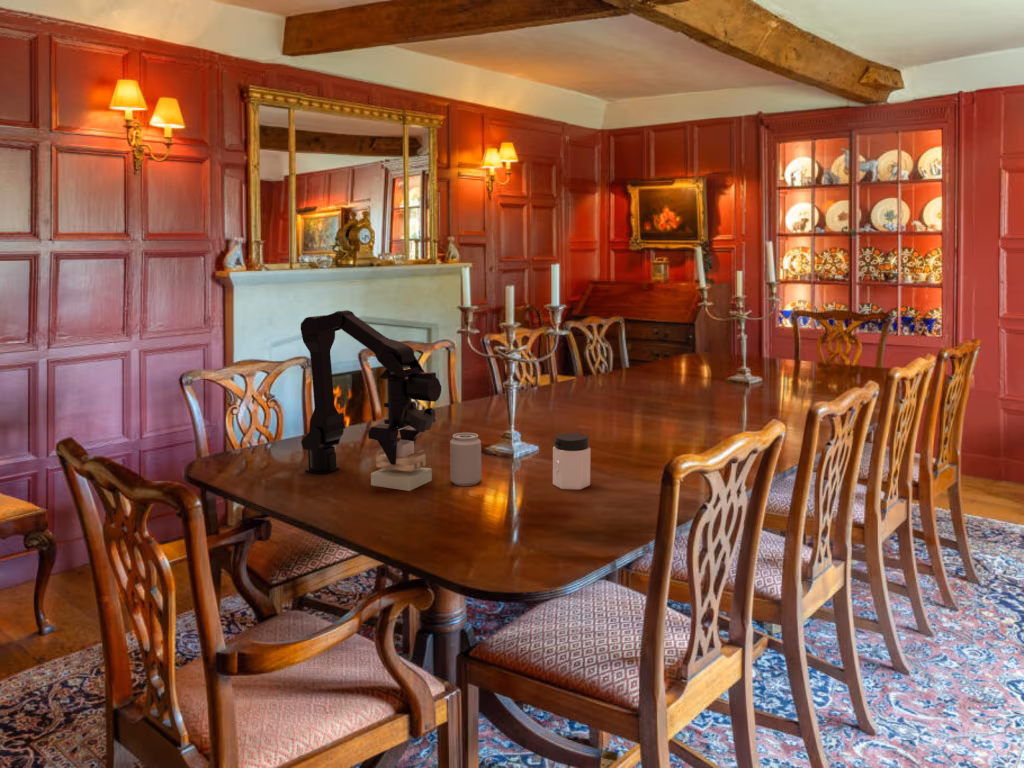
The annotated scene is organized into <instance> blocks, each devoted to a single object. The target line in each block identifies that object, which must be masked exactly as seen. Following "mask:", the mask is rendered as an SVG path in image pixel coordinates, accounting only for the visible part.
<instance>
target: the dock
mask: <svg viewBox="0 0 1024 768" xmlns="http://www.w3.org/2000/svg"><path fill="white" fill-rule="evenodd" d="M432 471H433V470H432V468H431V467H424V466H423V467H422V466H420V468H419V469H414V471H412V472H409V471H402V470H395V469H387V468H381V469H377V470H375V471H373V472H370V486H373V487H380V488H385V489H386V488H387V489H395V490H402V491H407V492H410V491H412V490H415V489H416V488H419V487H421V486H422V485H425V484H427V483H430V482H432V480H433V472H432Z"/></svg>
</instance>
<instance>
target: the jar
mask: <svg viewBox="0 0 1024 768" xmlns="http://www.w3.org/2000/svg"><path fill="white" fill-rule="evenodd" d="M553 443H554V446H553V447H552V485H553V486H556V487H557V488H559V489H560V490H576V491H577V490H578V491H580V490H583V489H584V488H587V487H590V486H591V446H589V445H590V444H589V443H590V437H589V435H587V434H584V433H579V432H564V433H558V434H556V435H555V436H554V441H553Z"/></svg>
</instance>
